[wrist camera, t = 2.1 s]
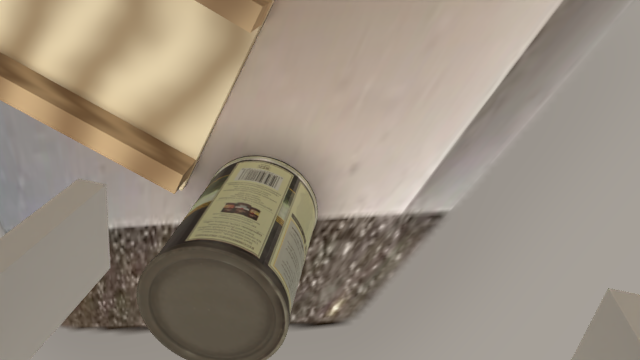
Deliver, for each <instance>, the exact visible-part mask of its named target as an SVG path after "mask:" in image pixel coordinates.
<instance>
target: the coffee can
mask: <svg viewBox="0 0 640 360" xmlns="http://www.w3.org/2000/svg"><path fill="white" fill-rule="evenodd" d="M317 216H318V214H317V203H316V199H315V195H314V193H313V191H312V189H311V187H310V186H309V184H308V183H307V181H306V180H305V179H304V178H303V176H302V175H301V174H300V173H298V172H297V171H296V170H295V169H293V168H292V167H290V166H289V165H287V164H285V163H283V162H281V161H278V160H275V159H272V158H268V157H261V156H249V157H242V158H239V159H236V160H234V161H231V162H229V163H228V164H226V165H224V166H223V167H222V168H221V169H220V170H219V171H218V172H217V173H216V174H215V175H214V177H213V178H212V180H211V182H210V184H209V185H208V187H207V188H206V189H205V191H204V192H203V194H202V195H201V196H200V198H199V199H198V200H197V202H196V203H195V204H194V206H193V207H192V209H191V210H190V212H189V213H188V214H187V216H186V217H185V218H184V220H183V221H182V223H181V224H180V225H179V227H178V228H177V229H176V231H175V232H174V233H173V235H172V236H171V237H170V239H169V240H168V241H167V243H166V244H165V246H164V247H163V248H162V250H161V251H160V253H159V254H158V255H157V256H155V257H154V258H153V259H152V260H151V262H150V263H149V264H148V265H147V266H146V268H145V269H144V271H143V272H142V275H141V277H140V279H139V282H138V287H137V304H138V308H139V311H140V314H141V316H142V318H143V320H144V322H145V324H146V326H147V327H148V328H149V330H150V332H151V333H152V334H153V335H154V336H155V337H156V338H157V339H158V340H159V341H160V342H161V343H162V344H163V345H164V346H165V347H167V348H168V349H169V350H171V351H172V352H174V353H175V354H177V355H179V356H181V357H182V358H184V359H187V360H266V359H268V358H269V357H271V356H272V355H273V354H274V353H275V352H276V351H277V350H278V349H279V348H280V346H281V345H282V343H283V342H284V339H285V337H286V334H287V331H288V327H289V322H290V313H291V309H292V305H293V302H294V298H295V294H296V290H297V287H298V283H299V280H300V276H301V272H302V269H303V265H304V262H305V258H306V254H307V250H308V247H309V243H310V240H311V236H312V232H313V230H314V228H315V225H316V221H317Z"/></svg>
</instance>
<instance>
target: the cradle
mask: <svg viewBox="0 0 640 360" xmlns="http://www.w3.org/2000/svg"><path fill="white" fill-rule="evenodd" d="M274 1H275V0H0V100H1V101H3V102H5V103H7V104H9V105H11V106H13V107H14V108H16V109H18V110H20V111H22V112H24V113H26V114H27V115H29V116H31V117H33V118H35V119H37V120H38V121H40V122H42V123H44V124H46V125H48V126H50V127H51V128H53V129H55V130H57V131H59V132H61V133H63V134H64V135H66V136H68V137H70V138H72V139H74V140H76V141H77V142H79V143H81V144H83V145H85V146H87V147H88V148H90V149H92V150H94V151H96V152H98V153H100V154H101V155H103V156H105V157H107V158H109V159H111V160H113V161H114V162H116V163H118V164H120V165H122V166H124V167H125V168H127V169H129V170H131V171H133V172H135V173H137V174H138V175H140V176H142V177H144V178H146V179H148V180H150V181H151V182H153V183H155V184H157V185H159V186H161V187H163V188H164V189H166V190H168V191H170V192H172V193H174V194H175V193H176V191H177V190H178V189H180V190H183V189H184V187H185V186H186V184H187V182H188V180H189V178H190V176H191V174H192V171H193V169H194V167H195V165H196V163H197V161H198V159H199V157H200V155H201V153H202V151H203V149H204V146H205V144H206V142H207V140H208V138H209V136H210V134H211V132H212V130H213V128H214V126H215V124H216V121H217V119H218V117H219V115H220V113H221V111H222V109H223V107H224V105H225V103H226V101H227V98H228V96H229V94H230V92H231V90H232V88H233V86H234V84H235V82H236V80H237V78H238V76H239V73H240V71H241V69H242V67H243V65H244V63H245V61H246V59H247V57H248V55H249V53H250V51H251V48H252V46H253V44H254V42H255V40H256V38H257V36H258V34H259V32H260V30H261V28H262V26H263V23H264V21H265V19H266V17H267V15H268V13H269V11H270V9H271V7H272V5H273V3H274Z"/></svg>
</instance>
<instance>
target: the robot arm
mask: <svg viewBox="0 0 640 360" xmlns="http://www.w3.org/2000/svg"><path fill="white" fill-rule="evenodd" d="M109 269H110V253H109V233H108V212H107V192H106V184H101V183H97V182H92V181H87V180H82V179H78V180H76V181H75V182H74V183H72V184H71V185H70V186H69V187H67V188H66V189H65V190H63V191H62V192H61V193H59V194H58V195H57V196H55V197H54V198H53V199H51V200H50V201H49V202H47V203H46V204H45V205H43V206H42V207H41V208H40V209H38V210H37V211H36V212H34V213H33V214H32V215H30V216H29V217H28V218H26V219H25V220H24V221H22V222H21V223H20V224H18V225H17V226H16V227H14V228H13V229H12V230H10V231H9V232H8V233H7V234H5V235H4V236H3V237H1V238H0V360H30V359H31V358H32V357H33V356H34V355H35V353H36V352H37V351H38V350H39V349H40V348H41V347H42V345H43V344H44V343H45V342H46V341H47V340H48V339H49V337H50V336H51V335H52V334H53V333H54V332H55V331H56V329H57V328H58V327H59V326H60V325H61V324H62V323H63V321H64V320H65V319H66V318H67V317H68V316H69V315H70V313H71V312H72V311H73V310H74V309H75V308H76V306H77V305H78V304H79V303H80V302H81V301H82V300H83V298H84V297H85V296H86V295H87V294H88V293H89V292H90V290H91V289H92V288H93V287H94V286H95V285H96V284H97V282H98V281H99V280H100V279H101V278H102V277H103V276H104V274H105V273H106V272H107V271H108V270H109ZM571 360H640V295H639V294H634V293H629V292H624V291H619V290H614V289H609V288H608V290H607V292H606V294H605V296H604V297H603V299H602V301H601V303H600V305H599V307H598V309H597V311H596V313H595V315H594V317H593V319H592V321H591V323H590V325H589V327H588V328H587V330H586V332H585V334H584V336H583V338H582V340H581V342H580V344H579V346H578V348H577V350H576V352H575V354H574V356H573V358H572V359H571Z"/></svg>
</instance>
